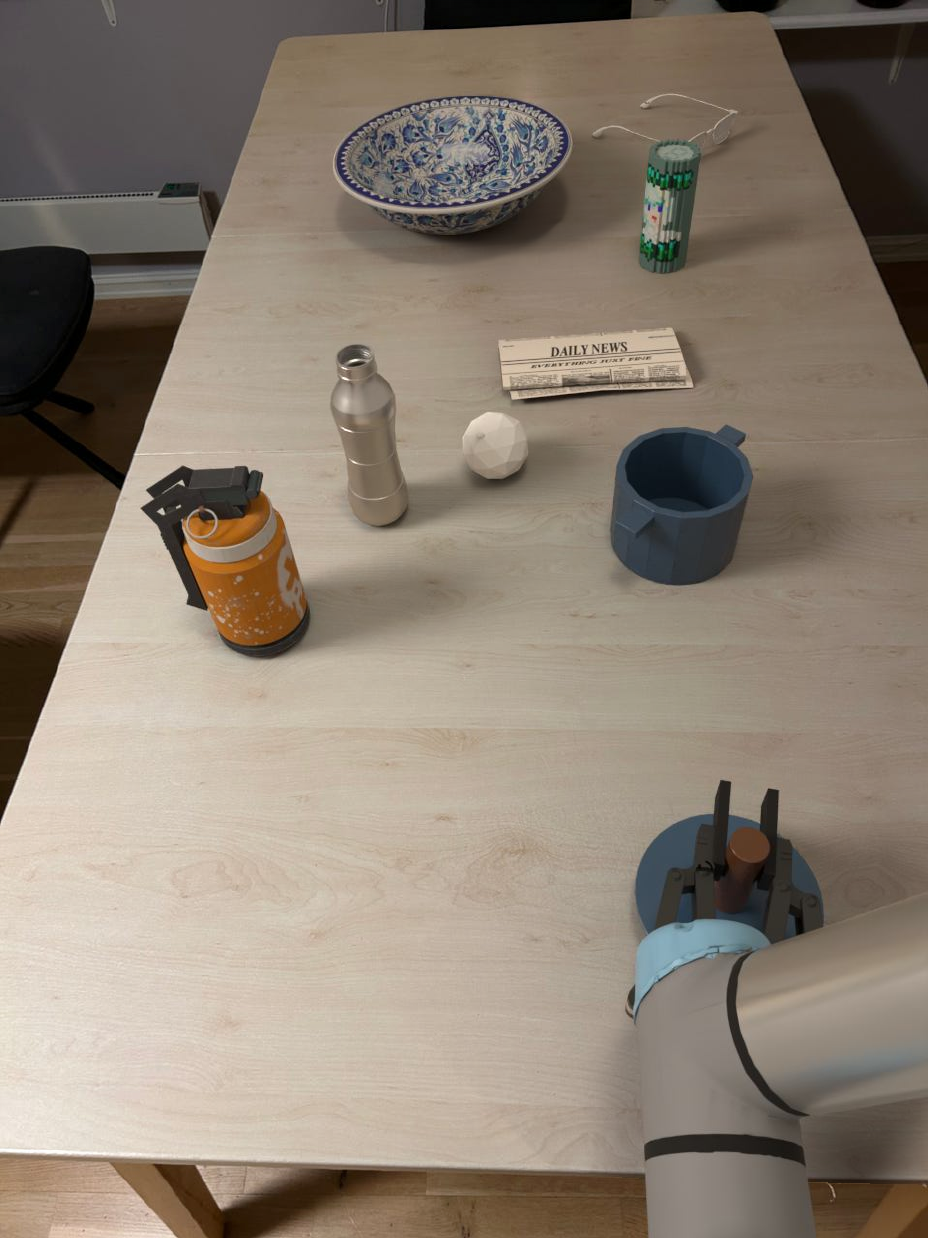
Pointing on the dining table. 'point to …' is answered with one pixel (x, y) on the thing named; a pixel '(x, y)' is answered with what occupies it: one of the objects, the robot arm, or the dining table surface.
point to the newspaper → (593, 363)
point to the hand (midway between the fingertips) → (746, 794)
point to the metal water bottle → (368, 437)
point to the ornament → (495, 445)
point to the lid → (737, 880)
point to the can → (668, 205)
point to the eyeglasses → (698, 139)
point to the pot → (680, 503)
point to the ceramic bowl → (453, 161)
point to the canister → (232, 556)
